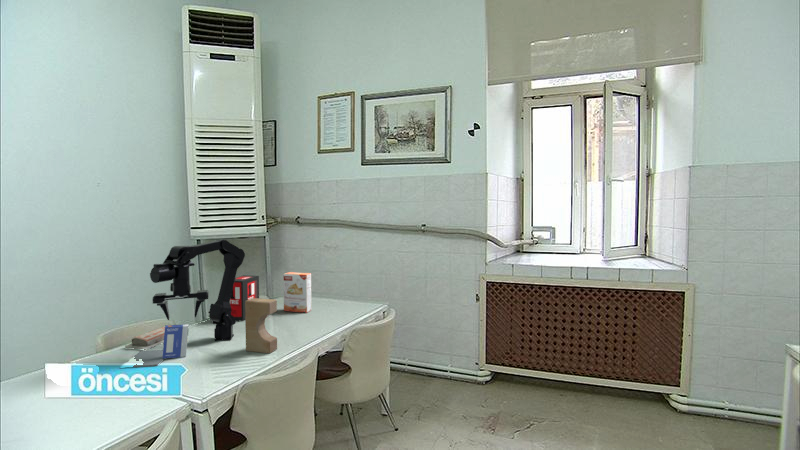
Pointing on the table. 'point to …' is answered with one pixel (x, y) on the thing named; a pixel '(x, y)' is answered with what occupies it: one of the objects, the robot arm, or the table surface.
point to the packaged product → (148, 339)
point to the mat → (149, 358)
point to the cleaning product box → (243, 294)
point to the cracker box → (297, 292)
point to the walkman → (175, 341)
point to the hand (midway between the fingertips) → (182, 318)
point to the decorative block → (259, 325)
